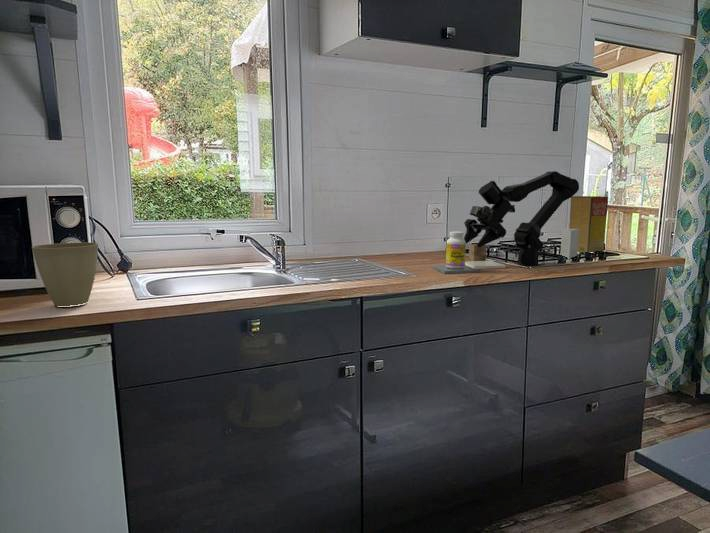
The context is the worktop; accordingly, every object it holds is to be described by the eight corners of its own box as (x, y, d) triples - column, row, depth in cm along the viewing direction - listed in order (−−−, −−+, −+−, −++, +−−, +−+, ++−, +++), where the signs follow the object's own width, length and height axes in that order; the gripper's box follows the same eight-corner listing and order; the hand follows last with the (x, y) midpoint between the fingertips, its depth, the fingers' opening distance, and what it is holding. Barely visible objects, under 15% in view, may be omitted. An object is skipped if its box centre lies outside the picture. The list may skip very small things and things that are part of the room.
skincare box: (567, 257, 206) (569, 228, 204) (577, 258, 202) (579, 229, 200) (559, 258, 202) (561, 229, 200) (569, 259, 199) (571, 230, 197)
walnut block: (480, 261, 198) (480, 243, 197) (485, 262, 193) (486, 245, 192) (468, 261, 197) (469, 244, 196) (473, 263, 193) (474, 245, 191)
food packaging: (605, 253, 215) (609, 196, 211) (587, 254, 212) (591, 196, 208) (583, 250, 227) (586, 195, 223) (566, 251, 225) (569, 196, 221)
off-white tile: (490, 263, 192) (491, 260, 192) (505, 267, 180) (505, 265, 180) (461, 264, 190) (461, 261, 190) (474, 269, 178) (474, 266, 178)
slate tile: (464, 267, 183) (464, 264, 183) (477, 272, 171) (477, 269, 171) (433, 268, 181) (433, 265, 181) (444, 273, 169) (444, 271, 169)
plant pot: (105, 306, 127) (99, 245, 124) (37, 314, 119) (29, 249, 117) (102, 296, 139) (96, 240, 137) (40, 302, 132) (33, 244, 130)
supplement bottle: (448, 269, 173) (449, 232, 170) (444, 266, 179) (445, 231, 177) (467, 269, 173) (468, 232, 171) (462, 266, 179) (463, 231, 177)
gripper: (469, 197, 185) (443, 228, 183) (500, 198, 167) (472, 232, 165) (486, 217, 189) (461, 247, 187) (518, 220, 171) (491, 253, 169)
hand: (470, 245), depth 177 cm, fingers open, 9 cm apart
